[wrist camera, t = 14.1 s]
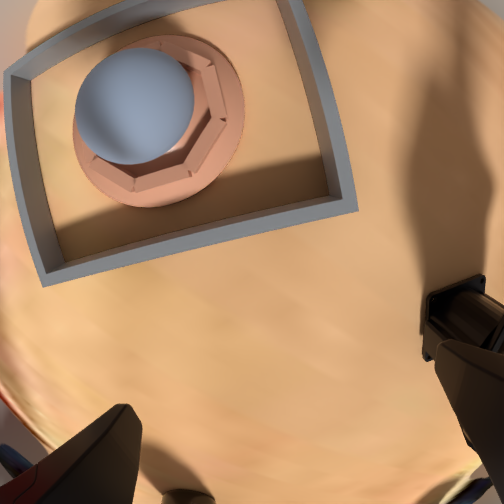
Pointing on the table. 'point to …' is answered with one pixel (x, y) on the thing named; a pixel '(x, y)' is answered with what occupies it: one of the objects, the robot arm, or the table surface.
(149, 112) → the ball
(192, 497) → the supplement bottle
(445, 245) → the table surface
